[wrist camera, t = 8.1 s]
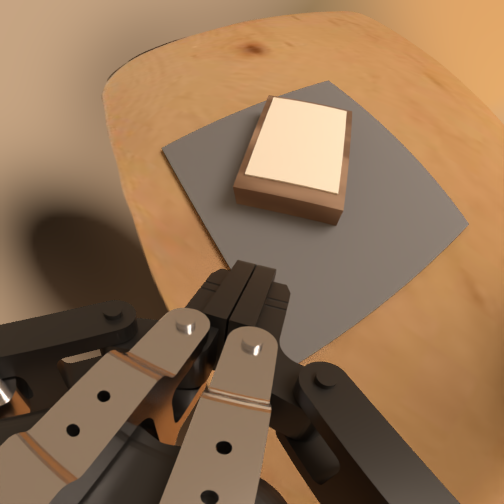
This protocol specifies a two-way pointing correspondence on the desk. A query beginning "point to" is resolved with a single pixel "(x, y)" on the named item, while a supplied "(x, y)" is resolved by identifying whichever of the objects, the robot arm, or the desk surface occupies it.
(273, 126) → the walnut picture frame
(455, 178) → the desk surface
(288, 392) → the robot arm
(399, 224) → the desk mat
